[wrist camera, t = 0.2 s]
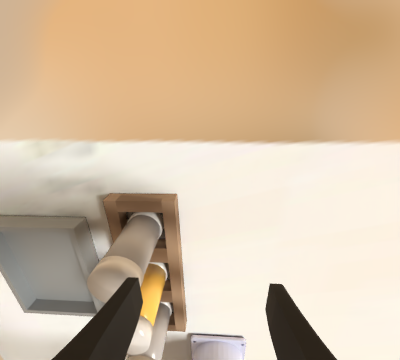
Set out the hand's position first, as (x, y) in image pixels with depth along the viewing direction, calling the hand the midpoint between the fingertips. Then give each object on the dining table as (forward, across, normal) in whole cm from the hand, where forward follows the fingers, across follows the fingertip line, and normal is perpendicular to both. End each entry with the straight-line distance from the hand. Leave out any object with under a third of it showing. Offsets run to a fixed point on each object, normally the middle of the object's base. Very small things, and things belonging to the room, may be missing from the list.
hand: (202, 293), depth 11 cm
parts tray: (+10, +19, +9) cm, 23 cm away
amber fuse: (+10, +6, +9) cm, 15 cm away
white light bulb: (+10, +7, +2) cm, 12 cm away
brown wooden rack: (+10, +6, +9) cm, 15 cm away
